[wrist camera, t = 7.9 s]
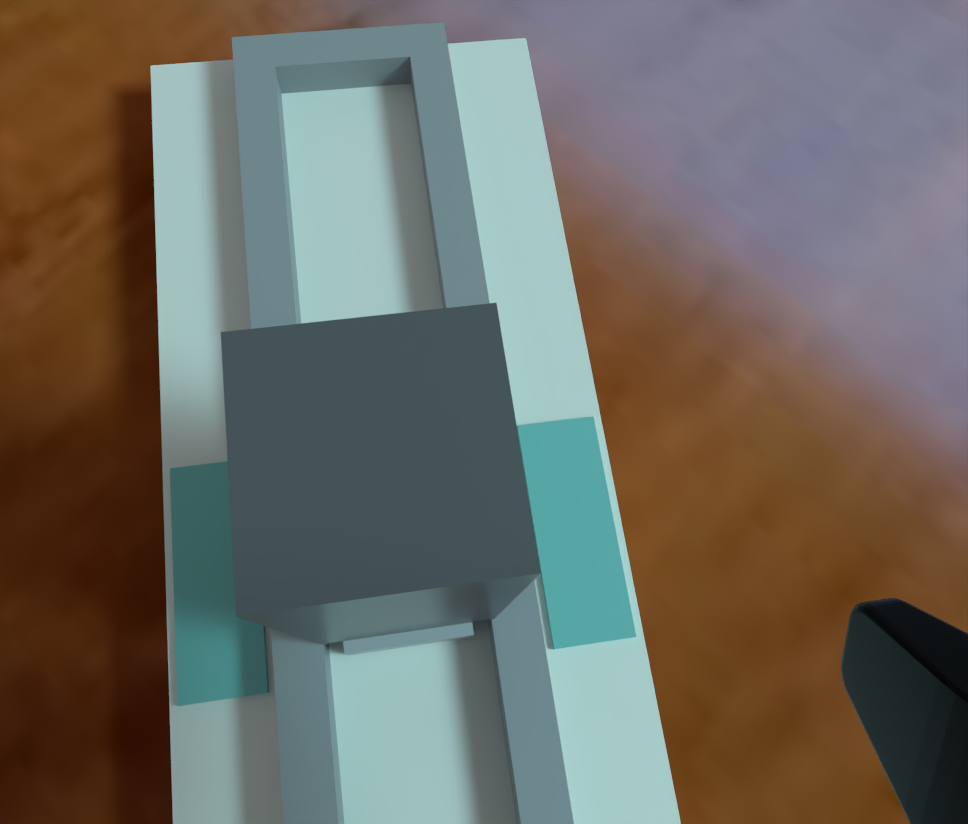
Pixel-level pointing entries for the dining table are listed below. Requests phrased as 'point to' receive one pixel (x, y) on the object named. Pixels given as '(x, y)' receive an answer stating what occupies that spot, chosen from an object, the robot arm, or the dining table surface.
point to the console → (369, 292)
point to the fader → (376, 477)
